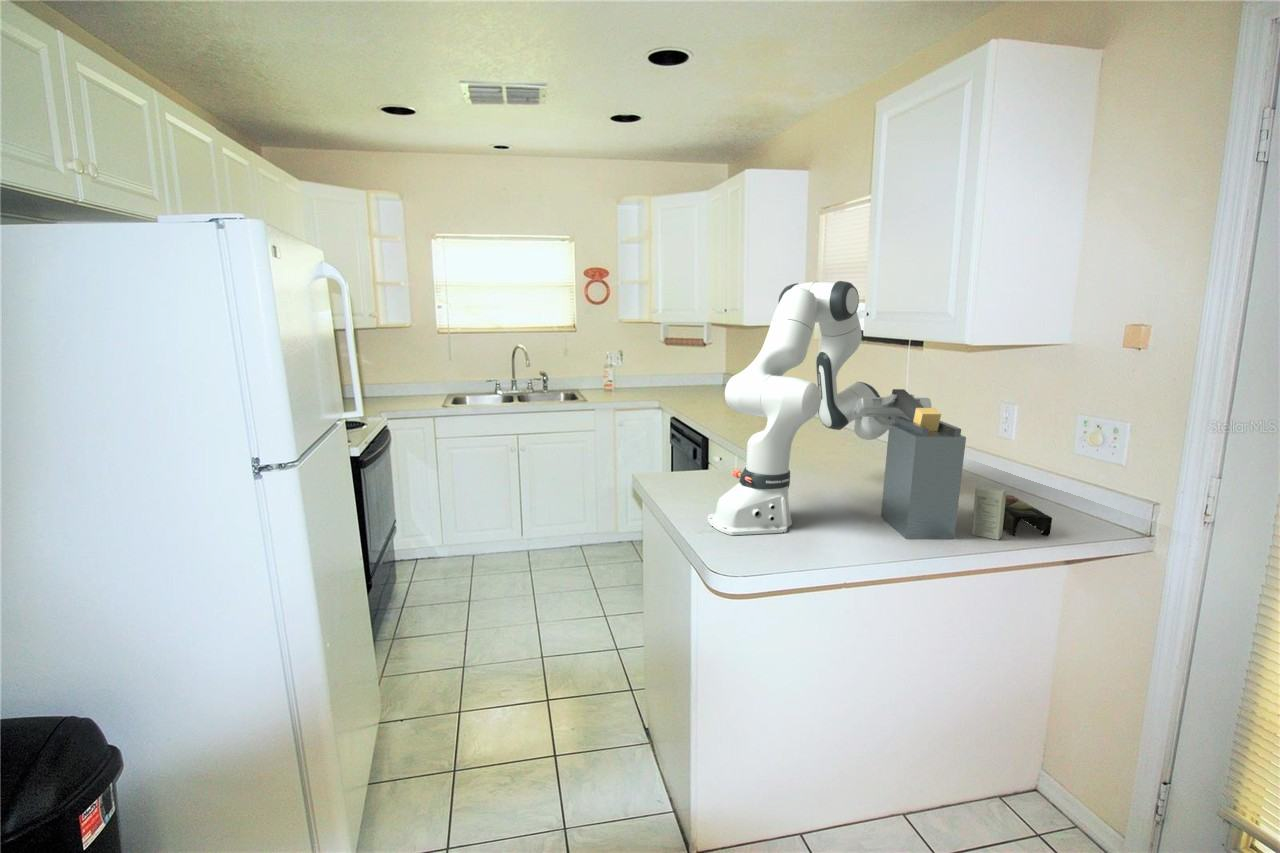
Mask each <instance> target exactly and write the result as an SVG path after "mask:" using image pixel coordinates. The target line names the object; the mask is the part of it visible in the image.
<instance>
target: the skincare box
mask: <svg viewBox="0 0 1280 853" xmlns="http://www.w3.org/2000/svg"><path fill="white" fill-rule="evenodd" d="M974 491H975V492H974V504H973V513H972V514H973V515H972V525H971V526H972V527H971V535H973V536H976V537H977V536H978V537H982V538H987V539H990V540H991V539H993V540H996V541H998V540H1000V539H1001V537H1003V531H1004V530H1003V521H1004V511H1005V501H1006V495H1007V489H1005V488H998V487H992V486H991V487H990V486H983V485H978V486H977V487H976V488H975V490H974Z"/></svg>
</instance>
